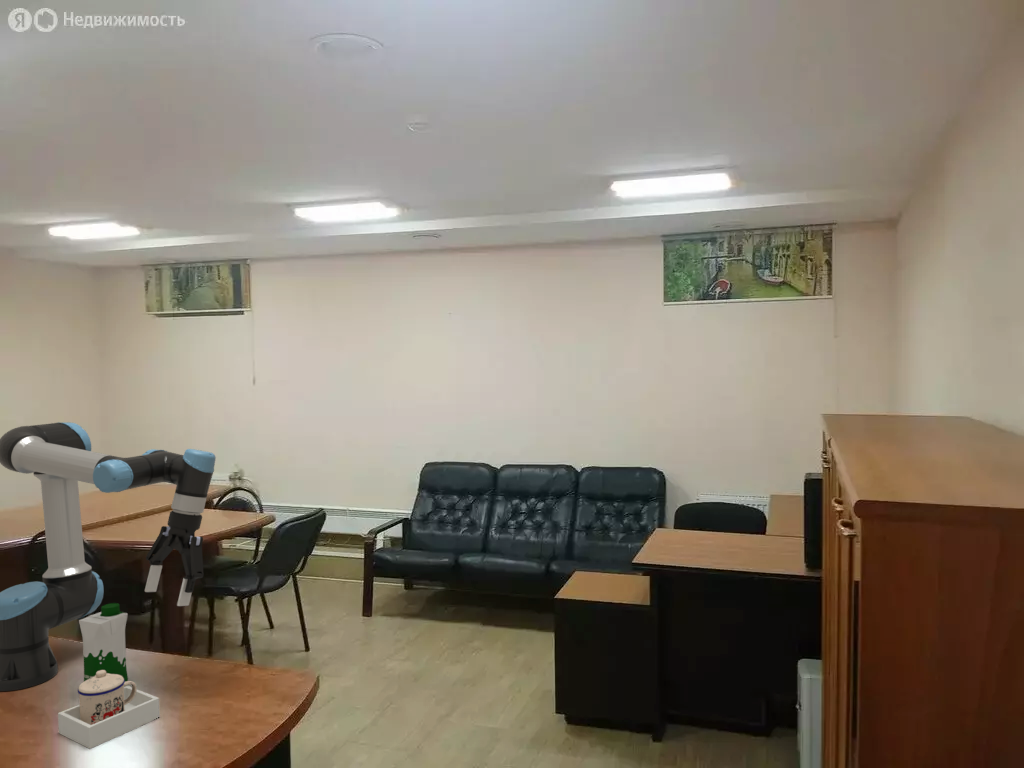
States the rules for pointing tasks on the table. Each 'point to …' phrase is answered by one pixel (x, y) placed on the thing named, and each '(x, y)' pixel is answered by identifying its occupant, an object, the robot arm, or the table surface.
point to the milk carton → (104, 642)
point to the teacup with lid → (103, 696)
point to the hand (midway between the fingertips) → (166, 598)
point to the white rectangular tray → (109, 720)
